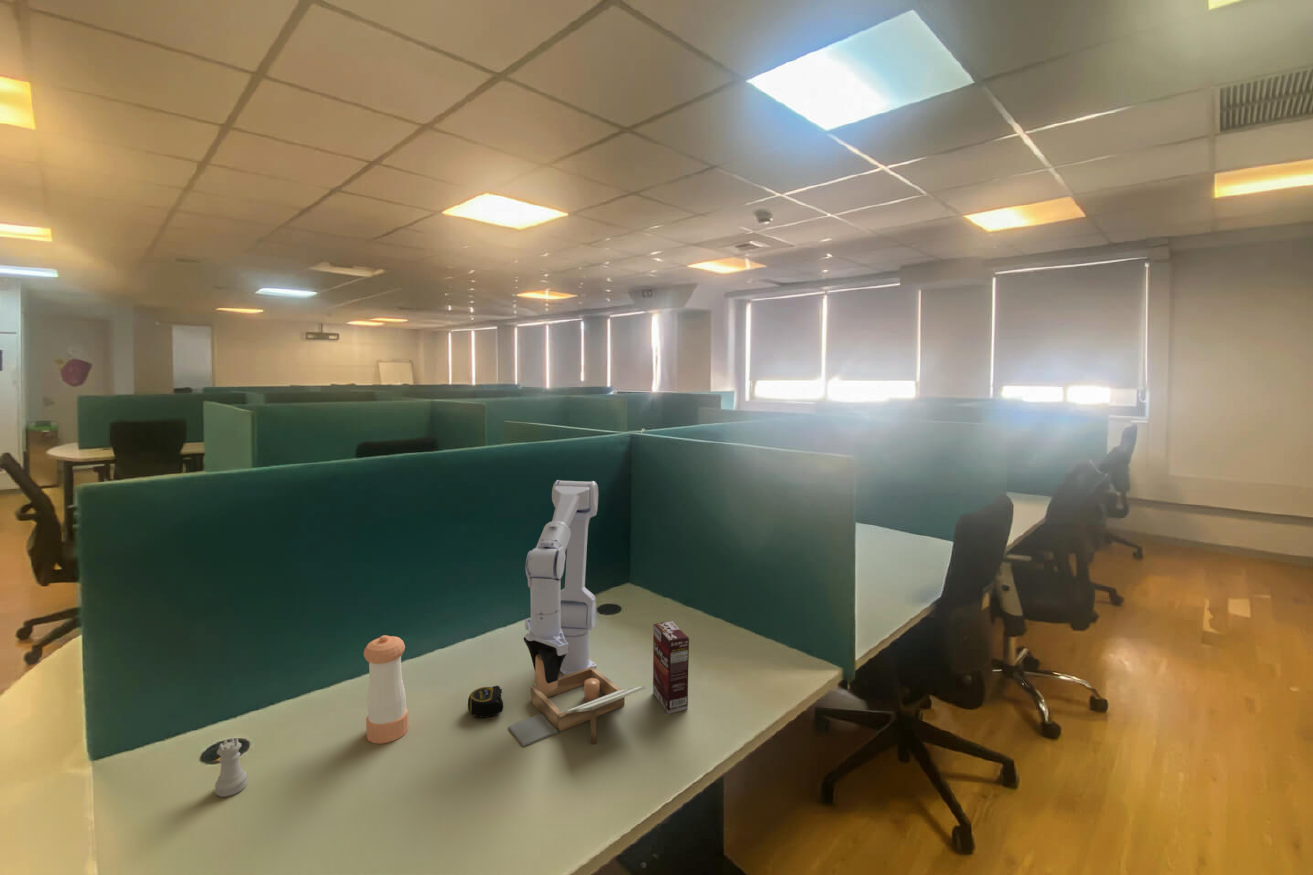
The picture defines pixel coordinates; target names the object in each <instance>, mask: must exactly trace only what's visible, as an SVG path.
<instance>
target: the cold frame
mask: <svg viewBox="0 0 1313 875" xmlns="http://www.w3.org/2000/svg"><path fill="white" fill-rule="evenodd" d="M590 678H595V679H598V680H599V691H601V692H602V693H603V694H604V696H601V697H600V696H599V698H598V699H595V700H593V701H590V702H588V701H586V702H585V703H582V704H580V705H578V706H575V707H572V708H570V709H568V710H567V709H566V710H565V711H561V709H559V708H558V707H557V706H556V705H555V704H554V703H553V702H552V701H551V700H550V699H549V698H550V697H552V696H556V695H559V694H561V693H564V692H566V691H570V690H572V689H576V688H577V687H581V686H583V685H584V682H585V680H587V679H590ZM643 690H646V686H645V685H643V686H637V687H631V688H626V689H622V688H621V687H620V686H618V685H617V684H615V683H614V682H613V681H612V680H611V679H610V678H608V677H607V676H605V675H604V674H603V673H602V672H600V671H599V670H598V669H597V668H596V667H595V668H594V667H593V666H591V667H588V668H585V669H582V670H579V671H576V672H574V673H571V674H568V675H562V676H560V677H559V676H558V687H557V688H556V689H554V690H552V691H547V692H543V691H539V690H537V689H536V687H535V685H534V686H531V687H530V702H531V703H533V705H534V706H535V707H536V708H537V709H538V710H539V711H540V712H541V713H542V714H543V716H544V717H545V718H546V719H547V720H548V721H549V722H550V723H551V724H552V725H553V726H554V727H555V728H556V729H557V730H558V731H559V732H564V731H566V730H568V729H571V728H572V727H575V726H578V725H580V724H582V723H585V722H588V721H590V744H592V745H595V744H596V743H597V717H600V716H602V715H605V714H607V713H609V712H612V711H613V710H616V709H618V708H621V707H623V706H625V700H626V699H625V698H626V697H628V696H630V695H633V694H635V693H638V692H640V691H643Z"/></svg>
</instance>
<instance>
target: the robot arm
mask: <svg viewBox="0 0 1313 875" xmlns="http://www.w3.org/2000/svg"><path fill="white" fill-rule="evenodd" d="M598 486H599V485H598V484H597V482H596V481H594V480H591V481H583V480H582V481H580V480H579V481H577V480H576V481H575V480H561V479H556V481H555V482H554V483H553V486H552V490H551V501H552V503H553V506H554V511H553V512H554V513H553V517H552V520H551V521H549V522H548V523H546V524H545V525H544V526H543V530H542V532H541V535H540V537H539V539H538V541H537V544H536V546H535V547H534V548H533V549H532V550H529V551H528V552H527V556H526V559H525V576H526V577H527V586H528V588H529V589H530V592H529V593H530V618H526V619H524V628H525V630H527V631H528V633H525V635H524V637H523V641H524V643H525V645H526V646H527V649H528V652H529V654H530V658H531V661H532V666H533V670H534V671H535V664H536V655H537V654H540V656H541V658H542V661H543V665H544V671H545V679H546V682H547V683H552V682H554V681H557V680H558V678H559V675H560V673H562V674H563V676H565V675H568V674H571V673H574V672H576V671H579V670H582V669H585V668H588V667H591V666H593V667H594V668H595V669H596V668H597V664H596V663H595V662H594V661H592V660H591V659H590V631H592V630H593V629H594V628H595V626H596V621H597V602H596V601H597V599H596V595H594V594H593V593H592V592H591V591H590V590H589V589H587V588H586V570H587V568H586V567H587V554H588V553H587V551H588V548H587V546H588V537H589V536H588V535H589V534H588V532H589V523H590V520H591V518H593V517H595V516H597V514H598V513H597V512H598V510H599V509H598V508H599V507H598V506H599V487H598ZM564 571H565V578H564V579H565V580H564V587H563V588H562V589H561V579H562V577H563V575H564Z"/></svg>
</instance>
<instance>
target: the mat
mask: <svg viewBox="0 0 1313 875" xmlns="http://www.w3.org/2000/svg"><path fill="white" fill-rule="evenodd" d="M508 729H509V731H510V732H511V733H512V734H513V736H515V738H516V739H517V741H519V743H520V744H521V746H523V747H527V746H529V745H531V744H534V743H535V742H538V741H541V740H543V739H546V738H548V737H551V736H553V735H556V734H558V733H559V732H558V731H559V730H558V729H557V728H556V727H555V726H554V725H553V724H552V723H551V722H550V720H549V719H548V718H547V717H546V716H545V715H544V714H543V713H542V712H541V713H539V714H536V715H534V716H531V717H529V718H526V719H523V720H521V721H517V722H515V723H512V724H510V725H508Z"/></svg>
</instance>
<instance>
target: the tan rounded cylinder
mask: <svg viewBox="0 0 1313 875" xmlns="http://www.w3.org/2000/svg"><path fill="white" fill-rule="evenodd" d="M583 688H584V689H583V693H584V694H583V696H584V697H583V699H584V700H585V701H586V702H590V701H593V700H595V699H598V698H600V689H599V680H598V679H595V678H590V679H587V680H585V682H584V687H583Z"/></svg>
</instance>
